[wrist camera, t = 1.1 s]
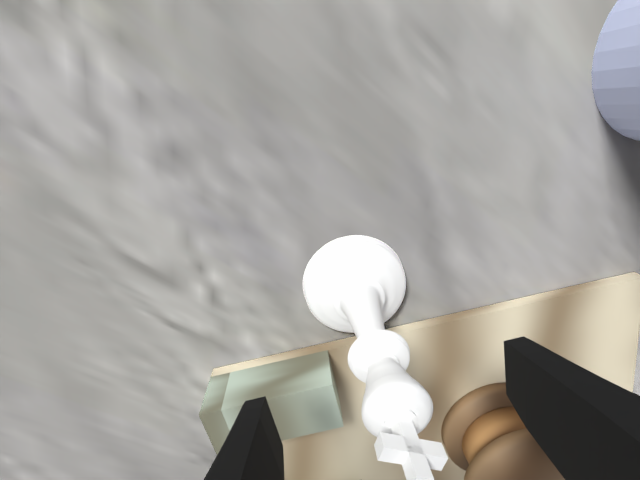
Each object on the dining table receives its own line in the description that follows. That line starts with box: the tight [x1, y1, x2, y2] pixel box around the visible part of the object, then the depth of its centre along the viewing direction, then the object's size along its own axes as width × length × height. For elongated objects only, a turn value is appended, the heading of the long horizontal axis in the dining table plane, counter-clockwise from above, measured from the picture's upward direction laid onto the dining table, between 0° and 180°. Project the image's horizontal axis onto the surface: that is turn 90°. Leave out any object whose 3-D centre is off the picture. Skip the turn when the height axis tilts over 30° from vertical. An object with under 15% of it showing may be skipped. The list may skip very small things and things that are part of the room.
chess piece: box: [303, 235, 448, 480], centre depth 13 cm, size 5×5×10 cm
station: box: [199, 272, 640, 480], centre depth 19 cm, size 22×12×4 cm, turn 103°
